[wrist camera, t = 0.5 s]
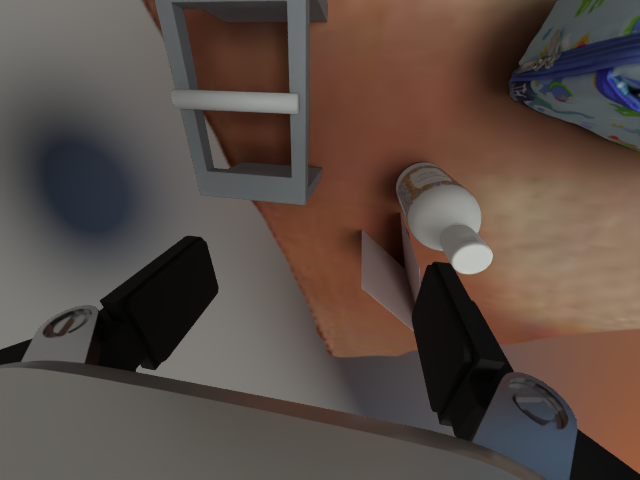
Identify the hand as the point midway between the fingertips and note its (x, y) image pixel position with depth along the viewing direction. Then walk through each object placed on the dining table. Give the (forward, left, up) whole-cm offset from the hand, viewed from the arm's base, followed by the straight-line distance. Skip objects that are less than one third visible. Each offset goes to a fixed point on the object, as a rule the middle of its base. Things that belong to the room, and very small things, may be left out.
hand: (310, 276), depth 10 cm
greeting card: (+15, +8, -29) cm, 34 cm away
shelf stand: (-6, -10, -29) cm, 31 cm away
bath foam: (+4, +11, -29) cm, 31 cm away
